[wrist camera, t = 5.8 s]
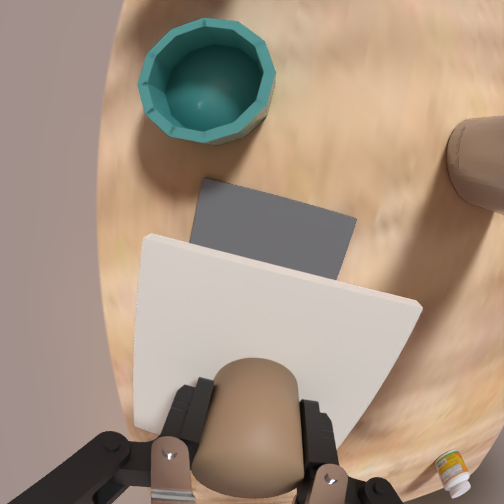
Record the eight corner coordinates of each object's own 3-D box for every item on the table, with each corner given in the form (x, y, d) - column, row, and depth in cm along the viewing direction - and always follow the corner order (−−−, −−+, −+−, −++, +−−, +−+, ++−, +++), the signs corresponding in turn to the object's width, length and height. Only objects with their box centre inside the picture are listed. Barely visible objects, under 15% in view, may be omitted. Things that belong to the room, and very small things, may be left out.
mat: (355, 218, 26) (356, 219, 26) (308, 345, 31) (309, 348, 30) (204, 177, 26) (203, 178, 26) (178, 313, 30) (177, 316, 30)
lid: (416, 300, 12) (480, 378, 7) (322, 456, 16) (330, 530, 10) (150, 233, 12) (70, 290, 7) (138, 417, 16) (105, 488, 10)
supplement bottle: (456, 457, 38) (471, 490, 29) (433, 468, 39) (446, 503, 30) (459, 444, 37) (476, 480, 28) (435, 456, 38) (450, 494, 29)
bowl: (284, 52, 22) (287, 30, 17) (256, 155, 25) (254, 154, 20) (177, 35, 22) (160, 15, 17) (150, 133, 25) (126, 129, 20)
